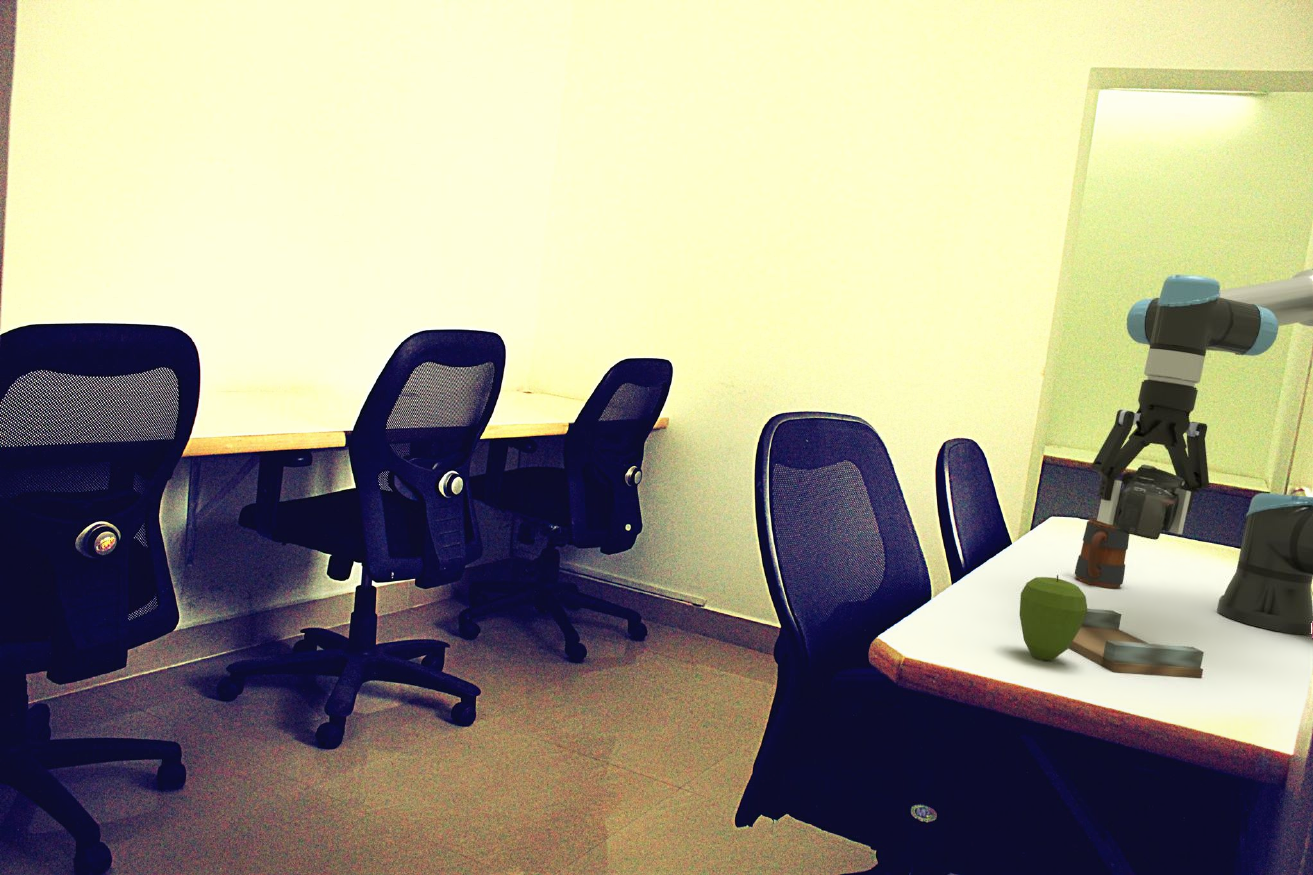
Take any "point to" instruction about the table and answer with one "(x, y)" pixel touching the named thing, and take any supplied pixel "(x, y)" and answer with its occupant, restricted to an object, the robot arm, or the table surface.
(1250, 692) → the table surface
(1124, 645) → the stand
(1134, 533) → the camera
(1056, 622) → the apple
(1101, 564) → the mug
